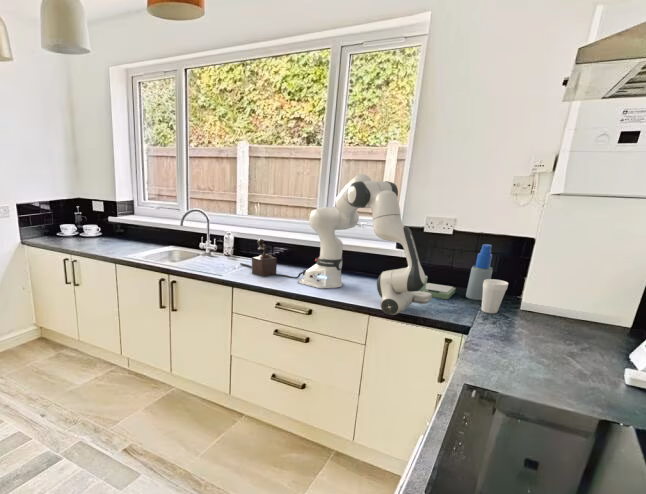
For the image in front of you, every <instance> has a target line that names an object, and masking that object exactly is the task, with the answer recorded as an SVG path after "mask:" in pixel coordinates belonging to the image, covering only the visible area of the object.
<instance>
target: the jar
mask: <svg viewBox="0 0 646 494" xmlns="http://www.w3.org/2000/svg"><path fill="white" fill-rule="evenodd" d="M425 278H426V282H425V285H424V286H423V287H422V288H421V289H420V290H419V291H425V289H426V284H428V279H429V278H428V275H425Z"/></svg>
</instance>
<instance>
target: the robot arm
mask: <svg viewBox="0 0 646 494" xmlns="http://www.w3.org/2000/svg"><path fill="white" fill-rule="evenodd" d="M398 196H399V189H398V186H397V184H395V183H394V182H392V181H388V180H386V181H385V180H384V181H383V180H372V178H371V177H369V176H368V175H367V174H365V173H359V174H356V175H355V176H354V177H352V178H351V179H350V180H349V181H348V182H347V183H346V185H345V186H344V187H343V188H342V189H341V191H340V192H339V194H338V195H337V196H336V197H335V201H334V202H335V206H328V207H326V206H324V207H318V208H315V209H313V210H312V211H311V212H310V214H309V219H308V221H309V225H310V227H311V229H312V230H313V231H315V232H316V234H317V236H318V238H319V243H320V244H319V245H320V247H319V249H320V250H319V256H318V257H316V258H315V260H314V261H315V262H316V263H315V264H313V265H312V266H311V267H309V268H306V269H303V270H302V271H301V272H299V273H298V275H297V276H291V275H287V274H281V273H276V274H274V273H272V274H271V276H276V277H284V278H289V279H299V278H300V277H301V275H302V276H303V278H301V279H299V284H301V285H306V286H309V287H313V288H317V289H336V288H340V287H342V286H343V279H342V269H343V268H342V267H343V249H344V243H343V241H342V240H341V239H340V238H339V237H337V236H336V231H341V230H349V229H352V228H355V227H356V226H357V225H358V223H359V212H358V209H370V210H371V212H372V217H371V218H372V226H373V227H372V228H373V232H374V234H375V235H376V236H377V237H378V238H379V239H381V240H383V241H388V242H395V243H398V244H400V245H401V246H402V248H403V250H404V254H405V258H406V263H407V267H401V268H397V269H396V268H395V269H389V270H385V271H384V270H383V271H382V272H380V274H379V276H378V277H377V281H376V290H377V293H378V295H379V296H380V298H381V301H380V308H381V311H382V312H383V313H384V314H386V315H390V316H394V315H398V314H400V313H402V312H403V311H404V310H405V309H408V307H409V306H411V305H412V304H419V305H426V304H428V303H431V301H432V298H433V297H432V294H431V293H428V292H425V291H419V290H420V289H421V288H422V287H423V286H424V285H425V282H426V278H425V276H426V274H425V271H424V268H423V266H422V263H421V259H420V256H419V253H418V248H417V245H416V241H415V238H414V235H413V232H412V230H411V229H410V227H408V226H406V225H405V224H404V222H403V220H402V214H401V207H400V203H399V199H398ZM239 265H240V266H244V267H248V268H250V269H252V265H249V264H246V263H242V262H241V263H239Z"/></svg>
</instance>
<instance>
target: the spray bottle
mask: <svg viewBox="0 0 646 494" xmlns="http://www.w3.org/2000/svg"><path fill="white" fill-rule="evenodd" d="M492 246H493V245H492V244H489V243H485V244H482V246H481V249H480V252H479V253H477V258H476V262H475V265H472V267H471V269H470V273H469V279H468V283H467V288H466V293H465V298H468V299H469V300H470V299H471V300H475V301H482V294H483V282H484V280H486V279H492V274H493V271H494V270H493V267H491V263H492V259H493V253H492Z"/></svg>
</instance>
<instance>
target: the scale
mask: <svg viewBox="0 0 646 494" xmlns="http://www.w3.org/2000/svg"><path fill="white" fill-rule="evenodd" d="M425 292H428V293H431V294H432V298H436V299H442V300H449V299H451V297H453V295H455V293H456V287H454V286H450V285H444V284H436V283H430V282H427V284H426V289H425Z"/></svg>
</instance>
